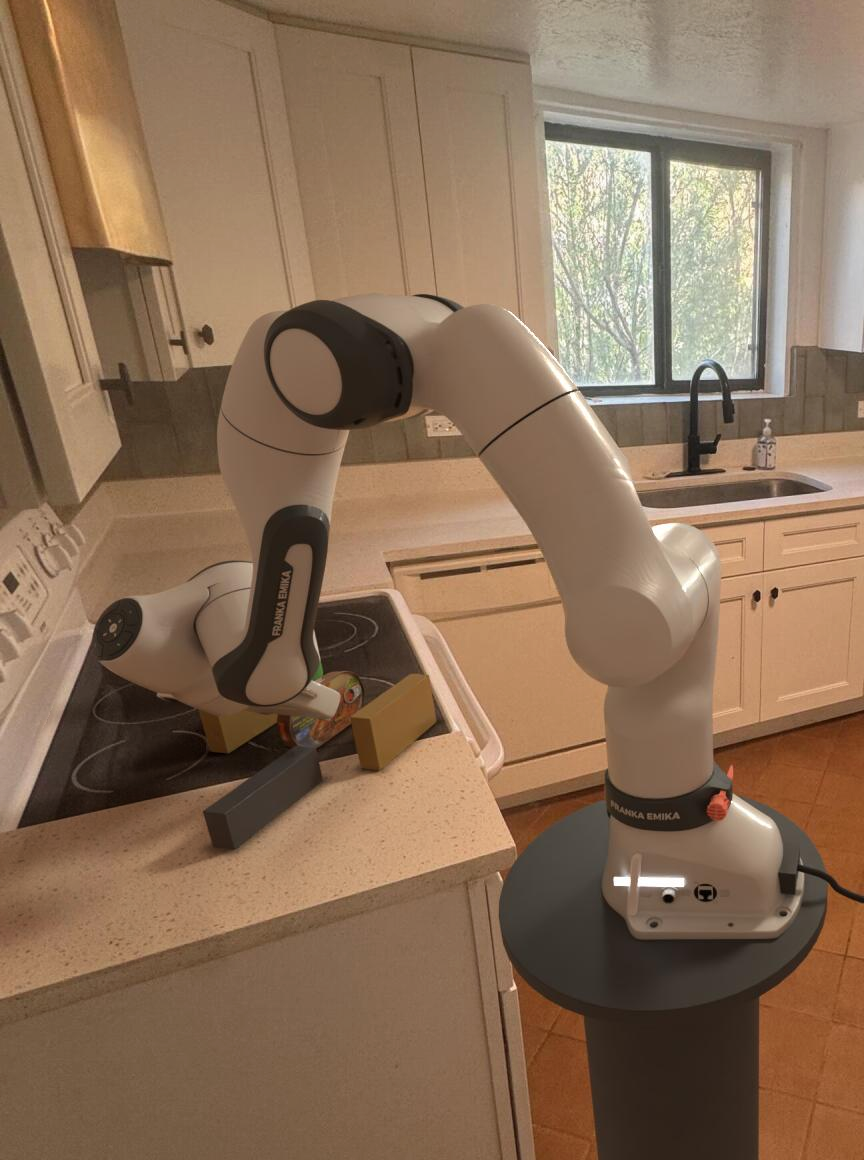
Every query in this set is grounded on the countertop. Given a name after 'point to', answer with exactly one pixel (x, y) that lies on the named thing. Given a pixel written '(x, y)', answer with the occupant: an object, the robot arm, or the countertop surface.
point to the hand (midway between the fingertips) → (298, 712)
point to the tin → (321, 731)
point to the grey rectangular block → (262, 797)
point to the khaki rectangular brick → (393, 721)
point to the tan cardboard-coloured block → (233, 729)
